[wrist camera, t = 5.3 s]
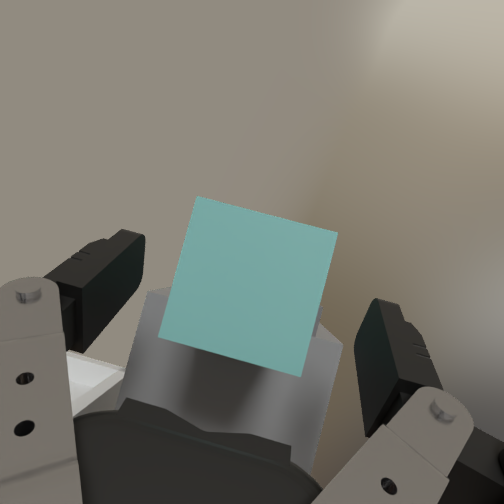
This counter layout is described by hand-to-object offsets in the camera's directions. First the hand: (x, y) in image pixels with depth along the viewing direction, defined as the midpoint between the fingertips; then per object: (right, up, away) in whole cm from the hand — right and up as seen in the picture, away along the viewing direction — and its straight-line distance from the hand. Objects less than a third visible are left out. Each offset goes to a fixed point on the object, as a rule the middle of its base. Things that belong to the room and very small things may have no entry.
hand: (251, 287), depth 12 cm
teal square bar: (0, -2, +7) cm, 8 cm away
